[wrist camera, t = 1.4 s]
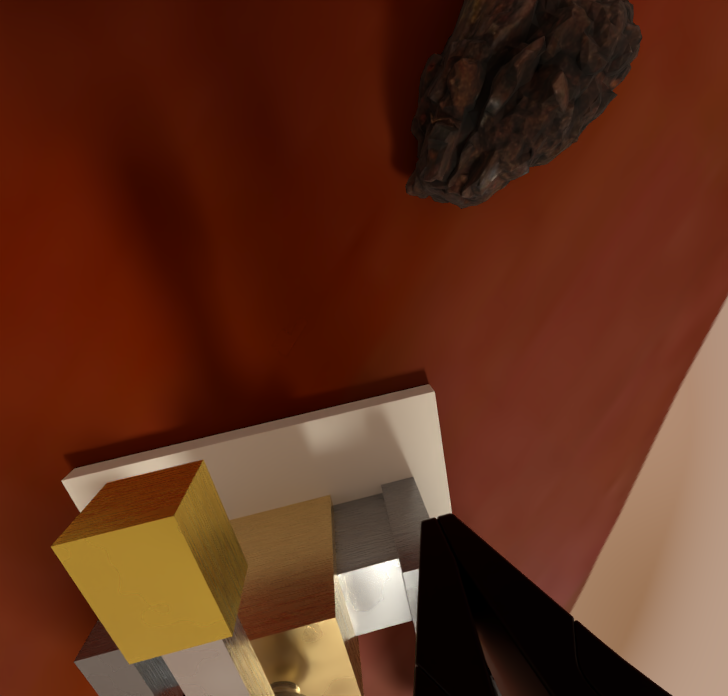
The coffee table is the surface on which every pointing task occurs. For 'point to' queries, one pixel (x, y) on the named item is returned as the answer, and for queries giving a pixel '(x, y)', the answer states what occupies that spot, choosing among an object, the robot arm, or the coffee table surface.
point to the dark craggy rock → (515, 91)
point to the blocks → (303, 594)
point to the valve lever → (168, 579)
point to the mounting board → (304, 457)
